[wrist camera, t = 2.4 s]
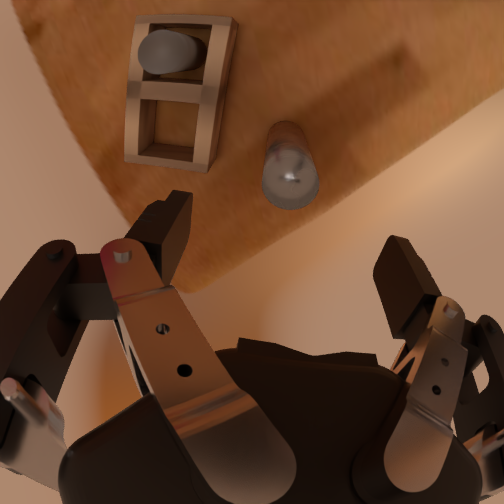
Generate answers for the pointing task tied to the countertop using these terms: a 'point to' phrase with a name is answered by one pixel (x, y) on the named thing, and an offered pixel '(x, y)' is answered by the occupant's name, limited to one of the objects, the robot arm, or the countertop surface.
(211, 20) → the wooden divided tray
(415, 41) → the countertop surface
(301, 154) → the pin
